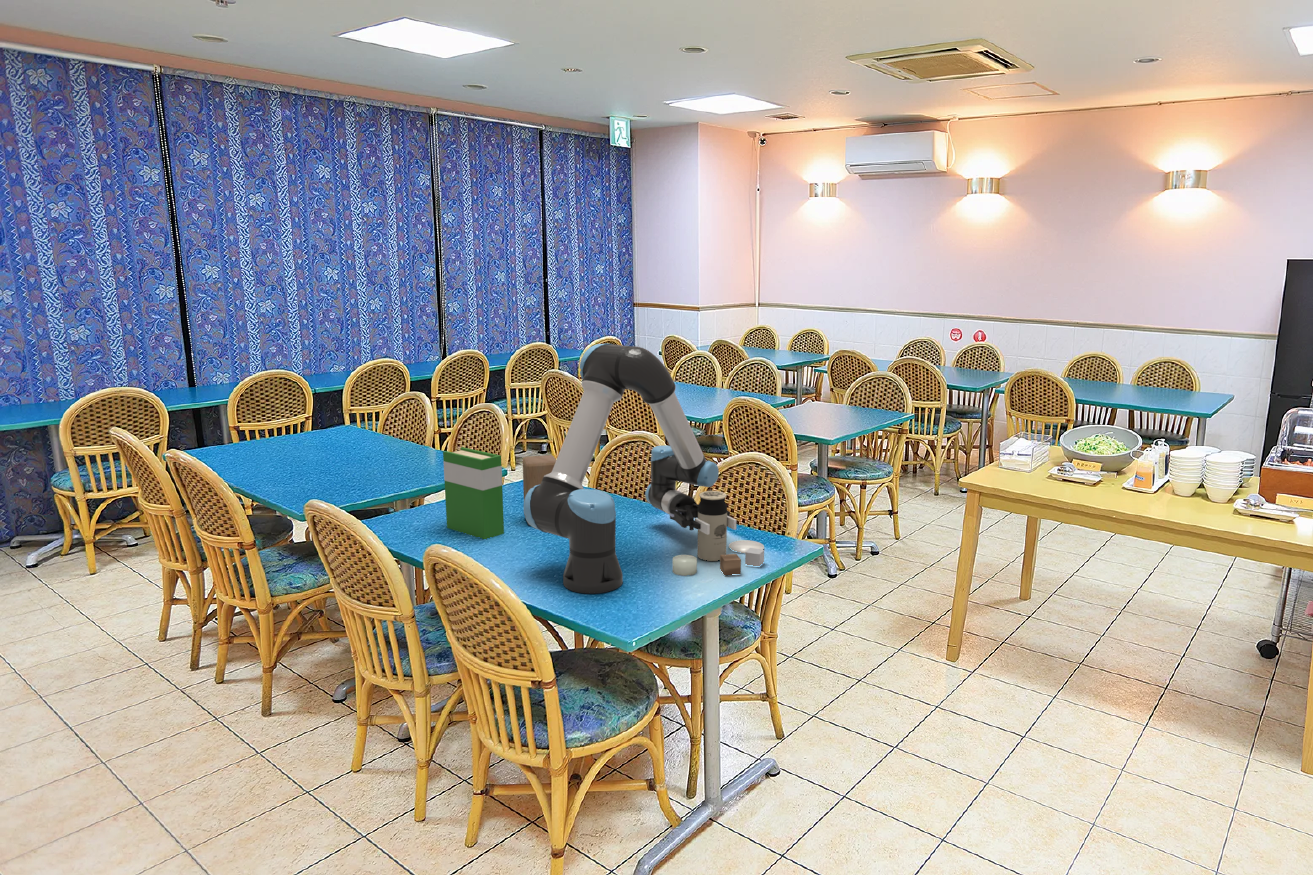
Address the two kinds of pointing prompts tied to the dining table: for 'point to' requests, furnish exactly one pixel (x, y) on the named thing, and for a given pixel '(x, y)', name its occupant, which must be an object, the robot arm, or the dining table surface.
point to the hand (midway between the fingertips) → (721, 527)
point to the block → (536, 471)
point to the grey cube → (754, 557)
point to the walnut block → (730, 564)
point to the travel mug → (712, 525)
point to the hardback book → (474, 492)
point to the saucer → (745, 545)
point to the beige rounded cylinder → (684, 565)
